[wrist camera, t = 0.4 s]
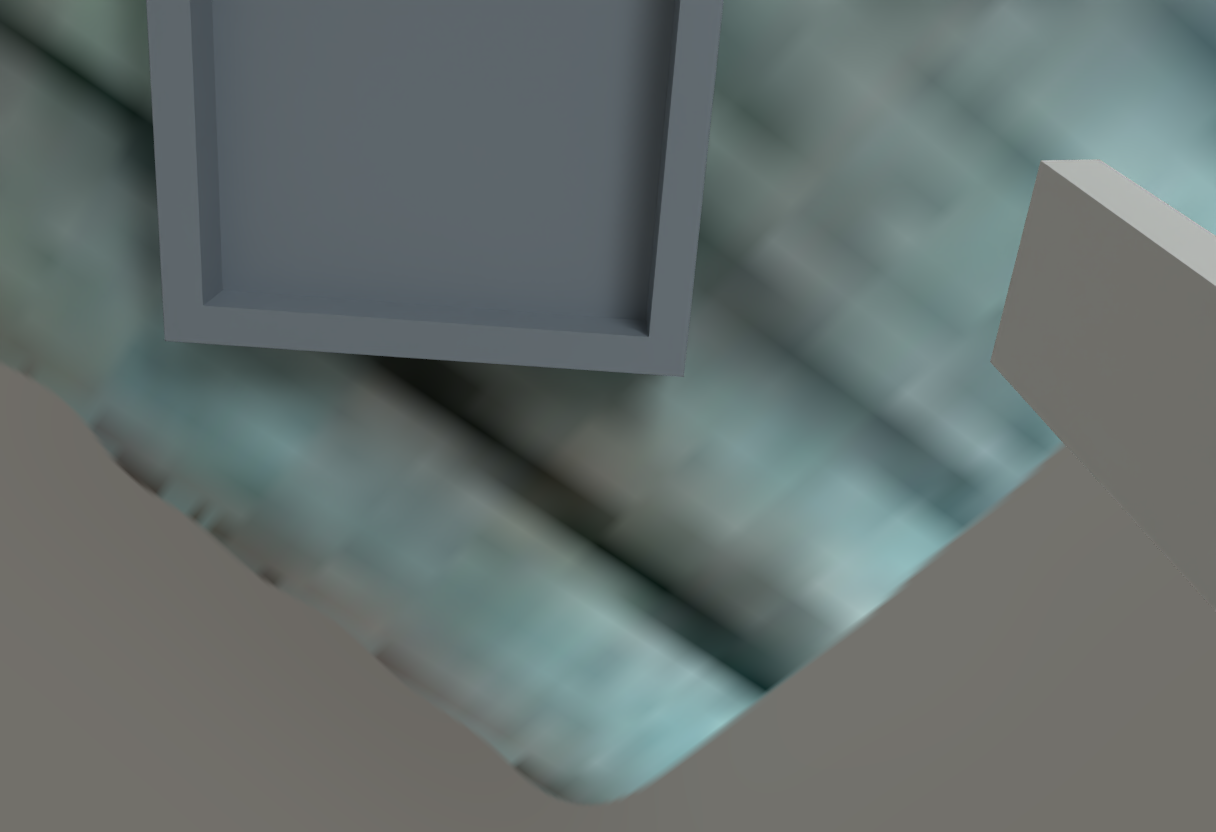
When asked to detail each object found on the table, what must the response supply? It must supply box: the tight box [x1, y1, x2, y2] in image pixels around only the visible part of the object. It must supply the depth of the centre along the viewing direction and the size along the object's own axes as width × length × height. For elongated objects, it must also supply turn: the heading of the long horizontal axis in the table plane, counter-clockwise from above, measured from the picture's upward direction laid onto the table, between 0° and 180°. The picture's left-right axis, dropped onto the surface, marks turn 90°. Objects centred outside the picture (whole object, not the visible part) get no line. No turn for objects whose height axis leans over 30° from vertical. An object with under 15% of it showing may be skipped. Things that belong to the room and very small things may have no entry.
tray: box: [146, 0, 723, 377], centre depth 34 cm, size 18×16×3 cm
